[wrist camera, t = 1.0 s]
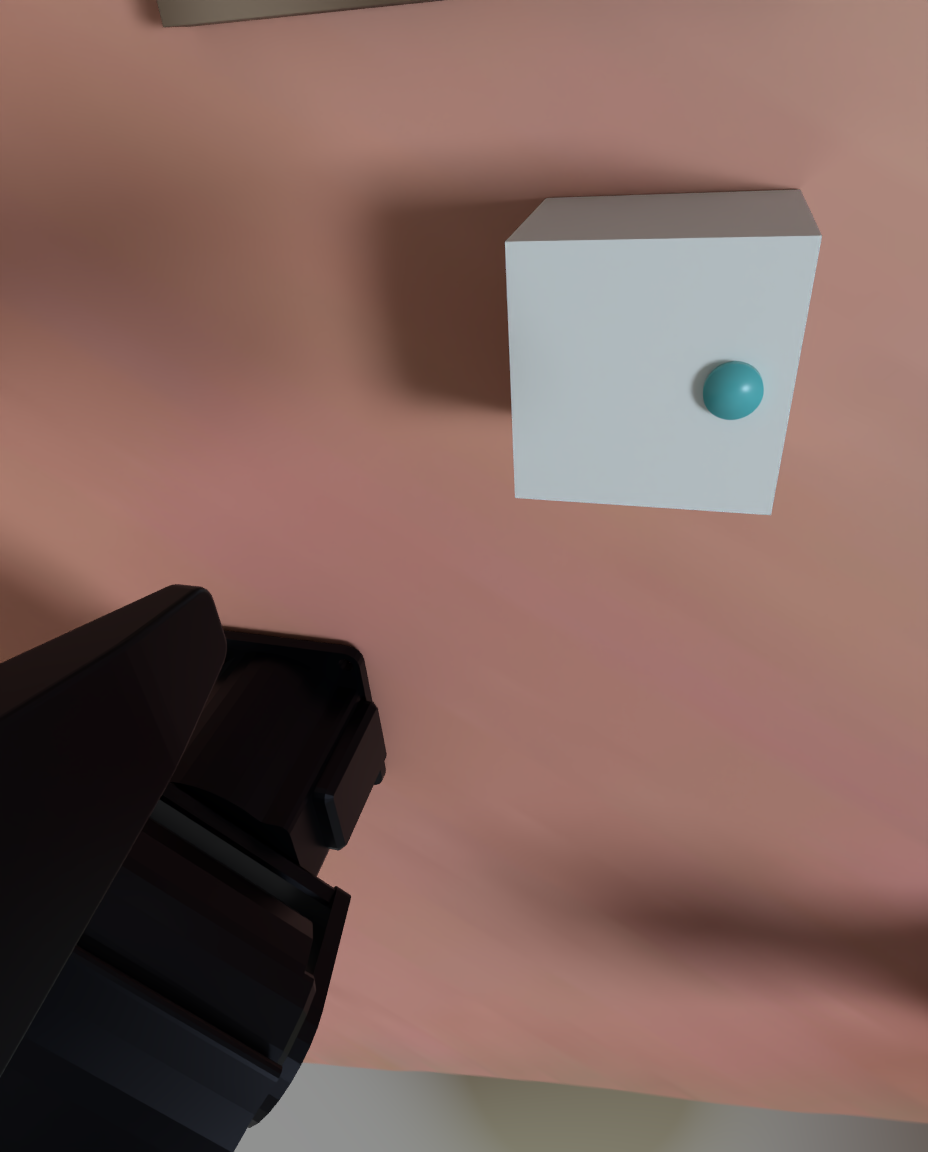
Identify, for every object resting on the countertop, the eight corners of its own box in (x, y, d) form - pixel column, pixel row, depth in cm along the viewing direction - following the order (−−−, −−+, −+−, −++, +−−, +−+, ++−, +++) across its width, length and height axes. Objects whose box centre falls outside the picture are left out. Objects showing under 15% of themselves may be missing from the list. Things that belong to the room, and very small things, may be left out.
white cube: (548, 418, 19) (513, 502, 16) (546, 198, 16) (502, 244, 13) (761, 427, 18) (771, 520, 14) (800, 188, 15) (823, 238, 12)
